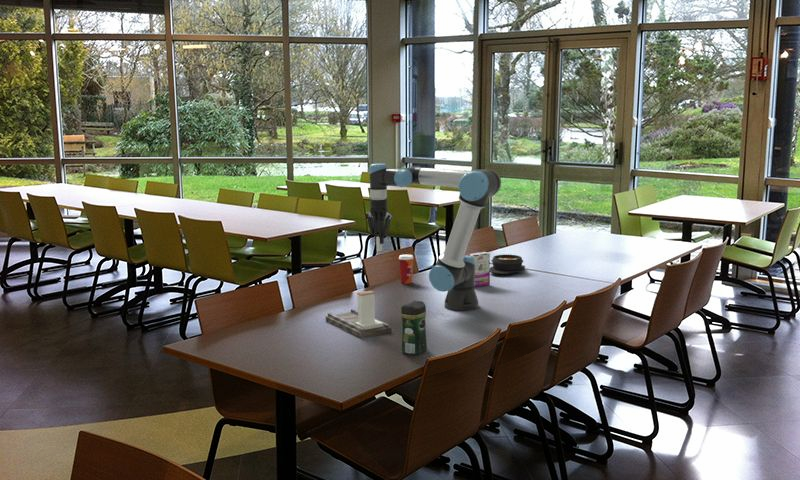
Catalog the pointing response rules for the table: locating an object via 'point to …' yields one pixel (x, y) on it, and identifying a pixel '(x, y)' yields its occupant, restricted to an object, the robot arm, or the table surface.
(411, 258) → the paper cup
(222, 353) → the table surface
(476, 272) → the candy bar box
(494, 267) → the casserole
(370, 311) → the post
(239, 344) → the table surface
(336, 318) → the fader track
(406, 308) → the coffee jar
